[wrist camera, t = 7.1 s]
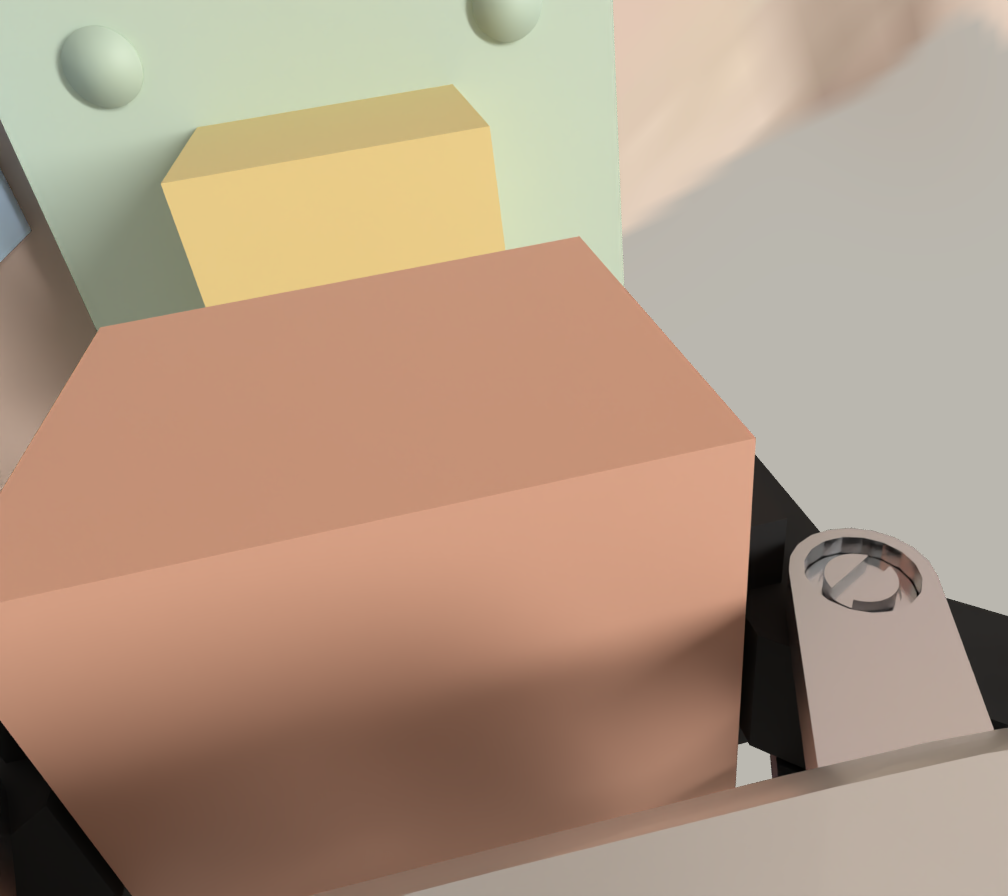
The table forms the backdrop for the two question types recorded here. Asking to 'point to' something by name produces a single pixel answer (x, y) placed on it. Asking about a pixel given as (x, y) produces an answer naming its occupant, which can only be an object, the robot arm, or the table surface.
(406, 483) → the terracotta brick
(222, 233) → the ochre brick
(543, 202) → the build plate
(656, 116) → the table surface
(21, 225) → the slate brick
